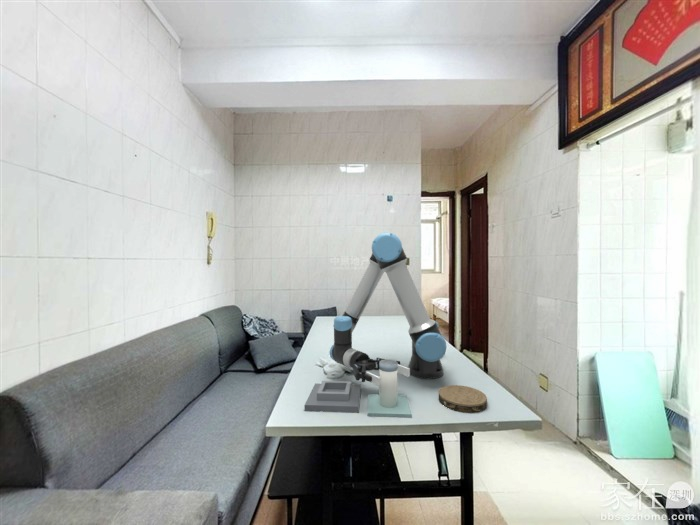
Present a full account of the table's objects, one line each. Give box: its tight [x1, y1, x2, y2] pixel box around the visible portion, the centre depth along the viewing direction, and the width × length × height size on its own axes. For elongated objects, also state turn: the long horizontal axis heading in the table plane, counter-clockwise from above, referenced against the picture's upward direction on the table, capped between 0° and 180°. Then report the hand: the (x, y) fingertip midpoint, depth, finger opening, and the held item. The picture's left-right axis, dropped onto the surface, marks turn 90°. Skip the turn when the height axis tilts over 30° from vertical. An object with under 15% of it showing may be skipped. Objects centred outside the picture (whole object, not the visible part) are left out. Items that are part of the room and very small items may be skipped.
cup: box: [379, 358, 398, 408], centre depth 102 cm, size 6×6×14 cm
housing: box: [304, 380, 362, 414], centre depth 107 cm, size 18×18×4 cm
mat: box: [367, 393, 413, 418], centre depth 102 cm, size 14×14×1 cm
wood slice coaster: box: [438, 384, 488, 414], centre depth 105 cm, size 16×16×3 cm
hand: (394, 377), depth 99 cm, fingers open, 13 cm apart
